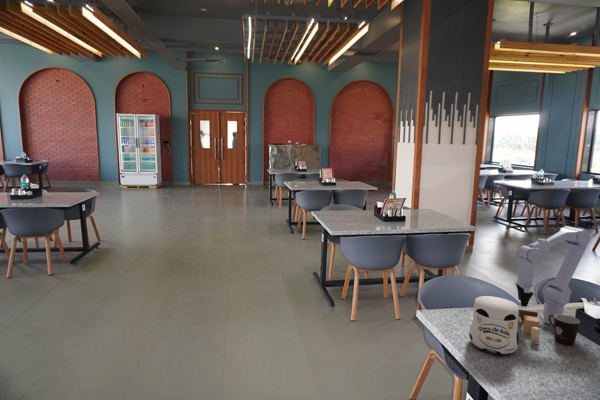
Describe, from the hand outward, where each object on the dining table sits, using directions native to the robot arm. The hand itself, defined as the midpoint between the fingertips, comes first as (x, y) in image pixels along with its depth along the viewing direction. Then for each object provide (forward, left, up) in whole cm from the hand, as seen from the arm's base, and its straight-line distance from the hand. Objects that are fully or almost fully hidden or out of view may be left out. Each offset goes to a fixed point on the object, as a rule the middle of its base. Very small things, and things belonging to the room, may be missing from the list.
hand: (522, 303), depth 171 cm
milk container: (+28, -13, -10) cm, 32 cm away
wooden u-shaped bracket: (0, +3, -10) cm, 10 cm away
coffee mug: (+10, +14, -10) cm, 20 cm away
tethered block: (+11, +3, -10) cm, 15 cm away
